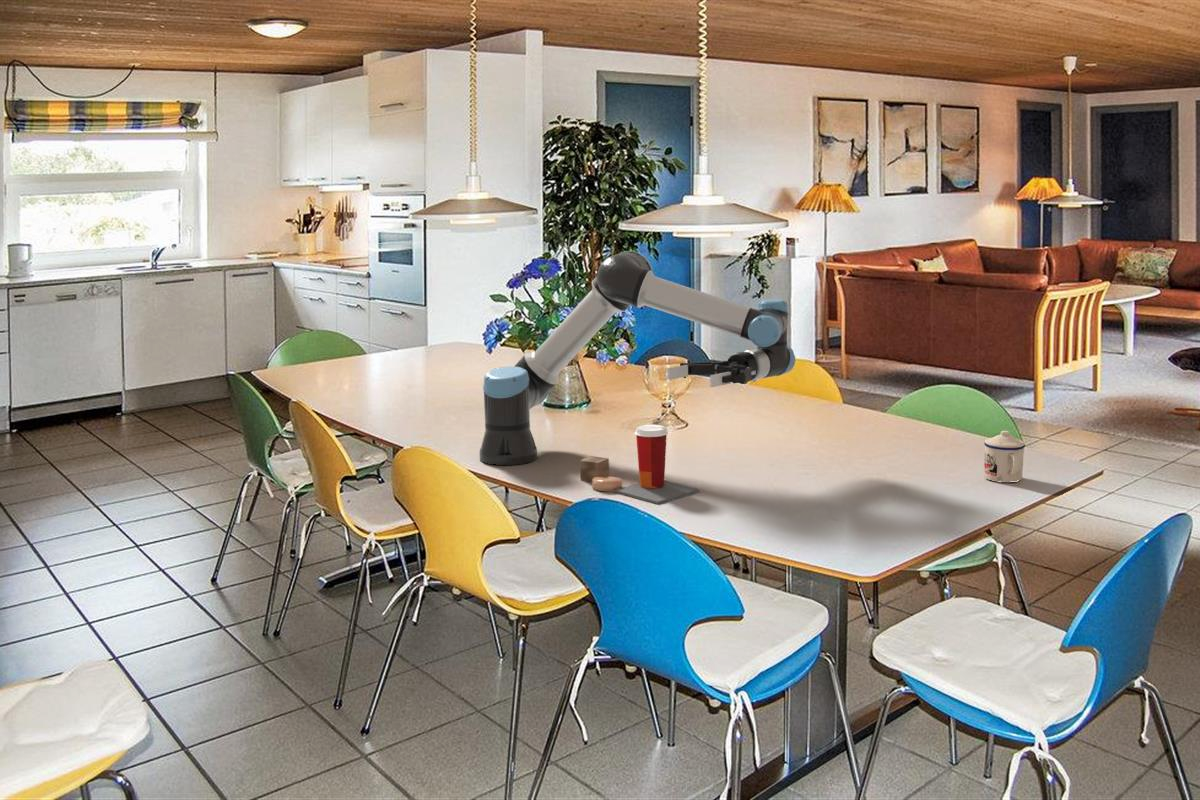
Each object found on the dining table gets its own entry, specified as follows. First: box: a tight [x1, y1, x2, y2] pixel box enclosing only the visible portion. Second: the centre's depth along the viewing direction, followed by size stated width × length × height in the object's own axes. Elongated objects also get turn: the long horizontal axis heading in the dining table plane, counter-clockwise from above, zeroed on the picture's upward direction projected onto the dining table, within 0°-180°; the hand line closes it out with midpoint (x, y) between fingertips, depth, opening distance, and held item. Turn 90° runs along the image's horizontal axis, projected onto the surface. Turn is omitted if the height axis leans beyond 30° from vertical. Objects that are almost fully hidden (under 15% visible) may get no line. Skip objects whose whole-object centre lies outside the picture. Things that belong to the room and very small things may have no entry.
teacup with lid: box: [983, 430, 1026, 482], centre depth 265 cm, size 12×9×12 cm
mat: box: [613, 479, 700, 505], centre depth 262 cm, size 14×14×1 cm
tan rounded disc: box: [591, 475, 623, 493], centre depth 266 cm, size 7×7×2 cm
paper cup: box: [634, 424, 669, 489], centre depth 263 cm, size 8×8×14 cm
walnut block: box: [579, 455, 610, 483], centre depth 273 cm, size 5×5×5 cm
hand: (689, 377), depth 264 cm, fingers open, 13 cm apart
